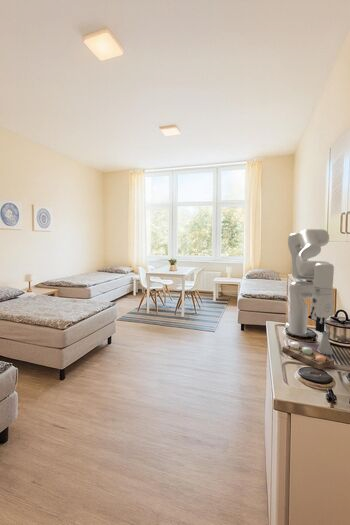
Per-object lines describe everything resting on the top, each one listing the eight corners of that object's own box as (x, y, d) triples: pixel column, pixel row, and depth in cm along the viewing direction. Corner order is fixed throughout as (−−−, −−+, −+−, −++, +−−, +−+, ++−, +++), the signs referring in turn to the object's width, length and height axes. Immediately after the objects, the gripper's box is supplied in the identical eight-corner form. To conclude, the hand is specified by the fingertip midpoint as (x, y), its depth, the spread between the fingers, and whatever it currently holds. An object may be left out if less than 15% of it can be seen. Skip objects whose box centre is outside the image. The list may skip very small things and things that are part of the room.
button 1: (288, 348, 132) (288, 342, 132) (294, 347, 134) (294, 341, 134) (294, 351, 129) (295, 345, 128) (300, 350, 130) (301, 344, 130)
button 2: (300, 354, 126) (300, 347, 126) (306, 352, 127) (306, 346, 127) (307, 357, 122) (307, 350, 122) (313, 356, 124) (313, 349, 124)
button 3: (313, 362, 120) (313, 356, 119) (319, 361, 121) (319, 354, 121) (321, 366, 116) (321, 359, 116) (327, 365, 118) (327, 358, 117)
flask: (335, 356, 127) (336, 336, 127) (318, 354, 129) (320, 334, 128) (329, 350, 134) (331, 331, 134) (314, 348, 136) (315, 329, 135)
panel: (282, 351, 132) (282, 346, 132) (296, 348, 136) (296, 343, 136) (318, 369, 114) (318, 363, 114) (333, 365, 118) (334, 359, 118)
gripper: (318, 294, 110) (316, 336, 112) (341, 291, 117) (338, 331, 118) (303, 290, 117) (300, 330, 119) (325, 288, 123) (323, 326, 125)
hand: (319, 331), depth 118 cm, fingers closed
